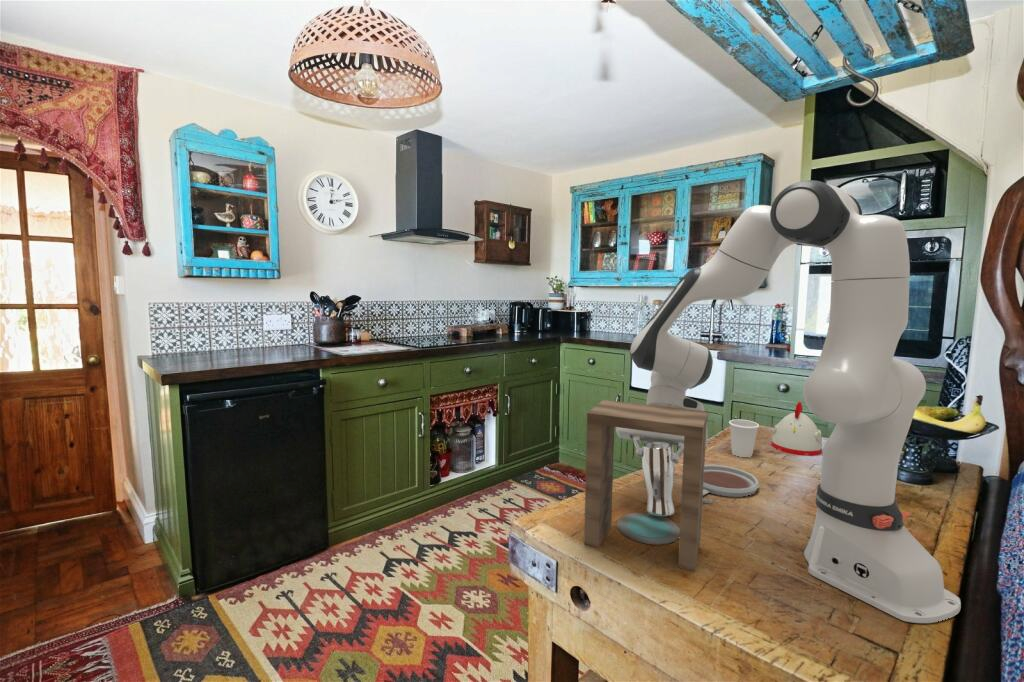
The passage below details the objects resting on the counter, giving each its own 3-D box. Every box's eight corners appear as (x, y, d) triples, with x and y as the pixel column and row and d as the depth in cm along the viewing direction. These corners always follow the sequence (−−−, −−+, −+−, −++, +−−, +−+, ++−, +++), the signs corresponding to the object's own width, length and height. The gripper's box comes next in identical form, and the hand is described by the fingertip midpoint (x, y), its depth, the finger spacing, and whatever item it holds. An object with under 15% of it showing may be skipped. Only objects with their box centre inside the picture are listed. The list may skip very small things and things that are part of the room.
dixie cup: (746, 461, 142) (748, 428, 141) (721, 452, 149) (723, 421, 148) (762, 456, 146) (765, 424, 145) (737, 448, 153) (739, 417, 152)
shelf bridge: (607, 506, 113) (611, 393, 110) (703, 525, 104) (710, 404, 101) (584, 543, 96) (587, 413, 93) (695, 571, 87) (702, 427, 84)
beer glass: (679, 508, 109) (676, 442, 109) (672, 519, 103) (669, 449, 103) (649, 503, 112) (646, 440, 112) (640, 514, 107) (637, 447, 106)
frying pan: (651, 486, 120) (709, 458, 137) (651, 497, 120) (708, 468, 138) (717, 510, 107) (771, 476, 124) (716, 523, 107) (770, 487, 125)
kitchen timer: (766, 449, 153) (770, 403, 151) (776, 438, 163) (779, 395, 162) (818, 459, 144) (822, 410, 142) (824, 447, 155) (828, 402, 153)
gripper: (619, 394, 117) (608, 445, 109) (710, 404, 108) (704, 460, 100) (623, 408, 121) (612, 458, 114) (710, 418, 112) (705, 473, 105)
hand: (656, 459), depth 107 cm, fingers closed on beer glass, 6 cm apart
